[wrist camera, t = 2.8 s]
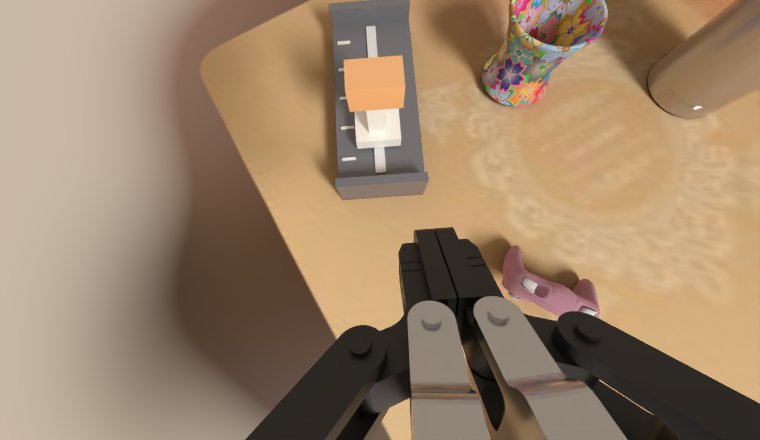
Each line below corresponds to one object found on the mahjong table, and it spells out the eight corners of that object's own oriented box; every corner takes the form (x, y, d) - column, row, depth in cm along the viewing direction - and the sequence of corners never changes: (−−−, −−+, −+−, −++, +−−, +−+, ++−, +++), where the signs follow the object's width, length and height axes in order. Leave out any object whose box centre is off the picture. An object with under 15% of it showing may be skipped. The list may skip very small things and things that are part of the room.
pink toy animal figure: (489, 272, 34) (499, 299, 28) (509, 240, 33) (525, 261, 26) (567, 310, 33) (598, 349, 26) (591, 279, 32) (629, 311, 25)
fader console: (422, 194, 35) (428, 180, 30) (342, 200, 35) (335, 187, 30) (406, 32, 40) (409, -3, 35) (336, 37, 40) (328, 3, 35)
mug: (534, 124, 36) (592, 62, 26) (466, 98, 37) (496, 29, 27) (562, 51, 38) (627, -34, 28) (497, 28, 39) (537, -61, 29)
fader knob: (400, 145, 32) (405, 91, 23) (357, 148, 32) (345, 96, 23) (398, 114, 33) (401, 50, 24) (356, 117, 33) (343, 54, 24)
